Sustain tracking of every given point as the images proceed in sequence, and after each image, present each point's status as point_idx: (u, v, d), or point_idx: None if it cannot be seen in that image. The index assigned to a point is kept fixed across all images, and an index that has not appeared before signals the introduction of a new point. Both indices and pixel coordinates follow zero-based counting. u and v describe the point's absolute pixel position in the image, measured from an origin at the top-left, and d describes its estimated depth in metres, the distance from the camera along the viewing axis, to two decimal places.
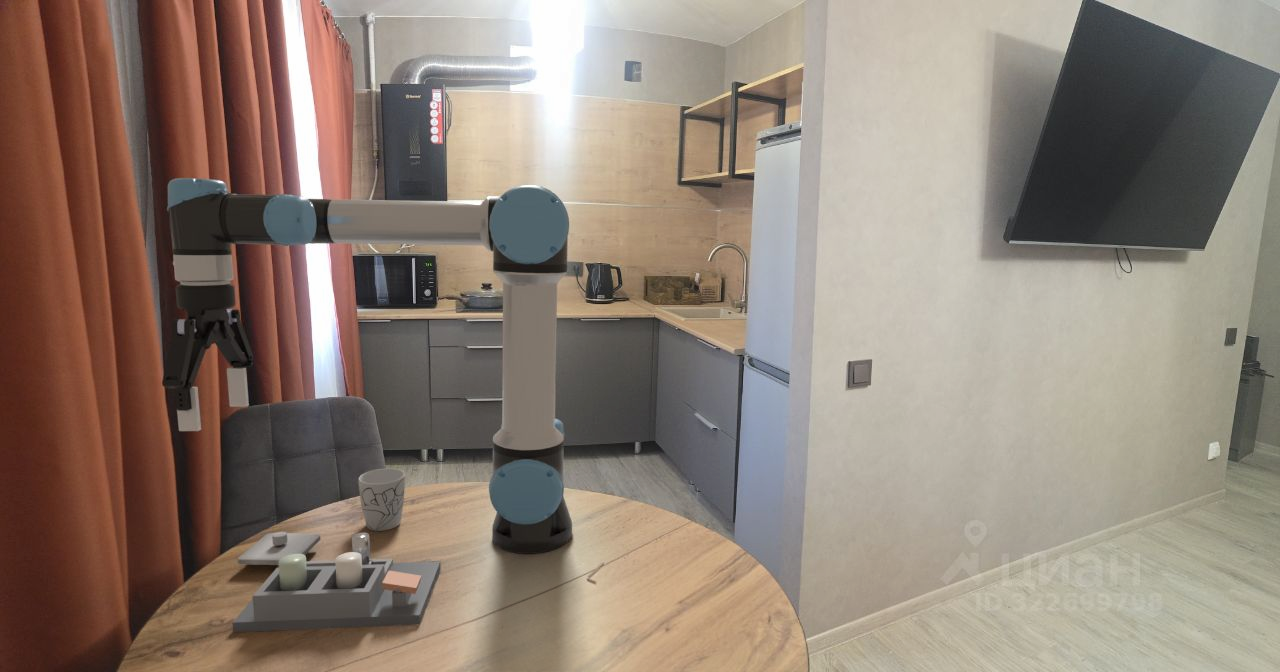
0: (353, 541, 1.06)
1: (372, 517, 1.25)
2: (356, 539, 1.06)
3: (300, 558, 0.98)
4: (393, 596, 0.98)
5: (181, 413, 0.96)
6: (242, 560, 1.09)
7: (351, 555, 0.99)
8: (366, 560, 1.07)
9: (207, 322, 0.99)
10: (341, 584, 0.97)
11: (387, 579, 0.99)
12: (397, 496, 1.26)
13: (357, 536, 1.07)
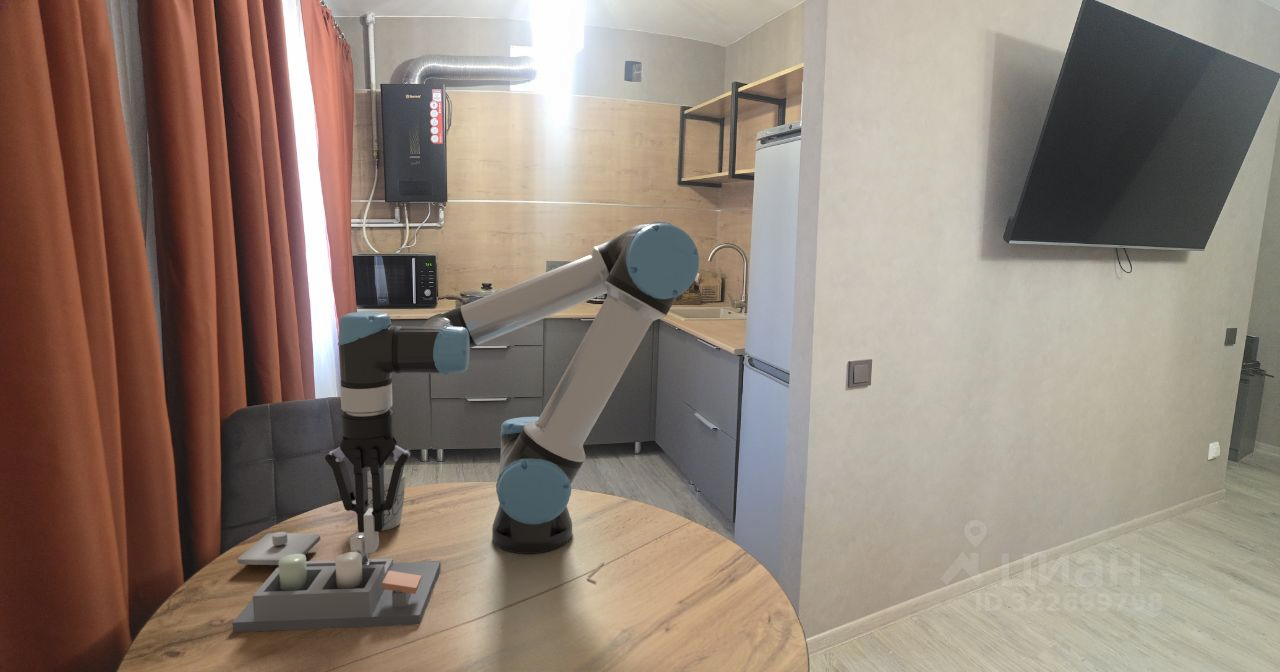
0: (351, 541, 1.06)
1: None
2: (354, 539, 1.06)
3: (300, 558, 0.98)
4: (393, 596, 0.98)
5: None
6: (242, 560, 1.09)
7: (351, 555, 0.99)
8: (364, 560, 1.07)
9: (350, 443, 1.03)
10: (341, 584, 0.97)
11: (387, 579, 0.99)
12: (397, 496, 1.26)
13: (355, 536, 1.07)
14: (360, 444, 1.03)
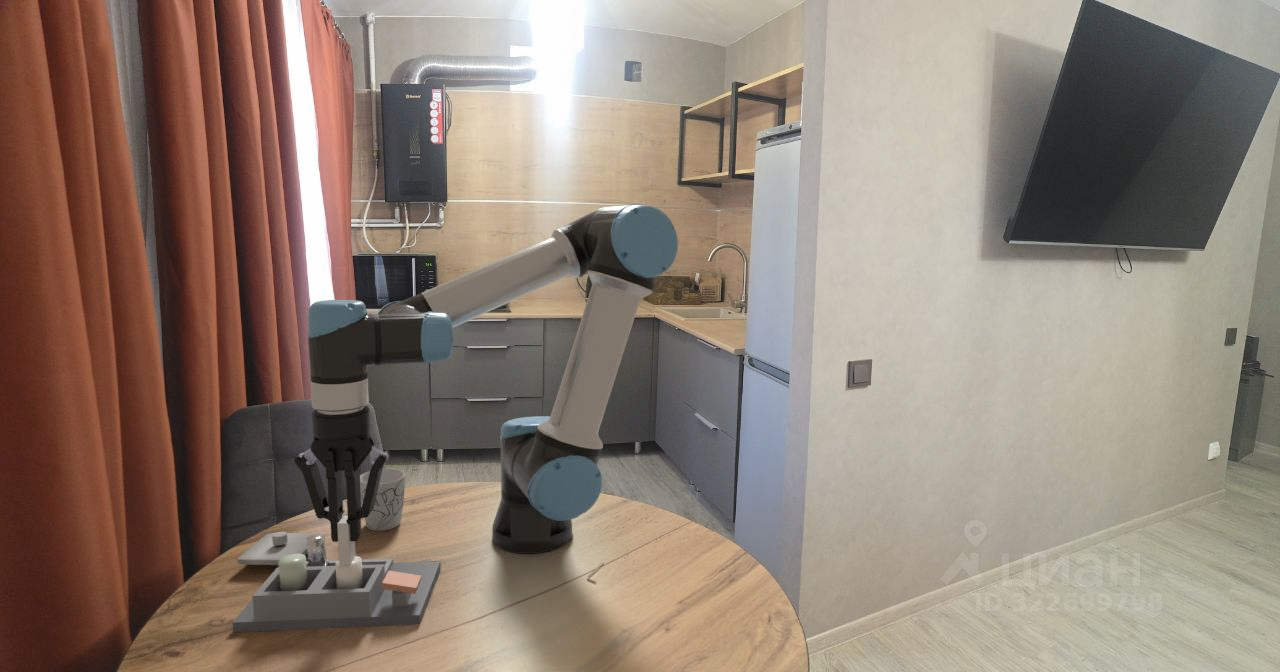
0: (308, 542, 1.05)
1: (372, 517, 1.25)
2: (311, 540, 1.05)
3: (300, 558, 0.98)
4: (393, 596, 0.98)
5: None
6: (242, 560, 1.09)
7: None
8: (321, 561, 1.06)
9: (322, 444, 0.94)
10: (341, 588, 0.97)
11: (387, 579, 0.99)
12: (397, 496, 1.26)
13: (312, 537, 1.06)
14: (333, 445, 0.94)
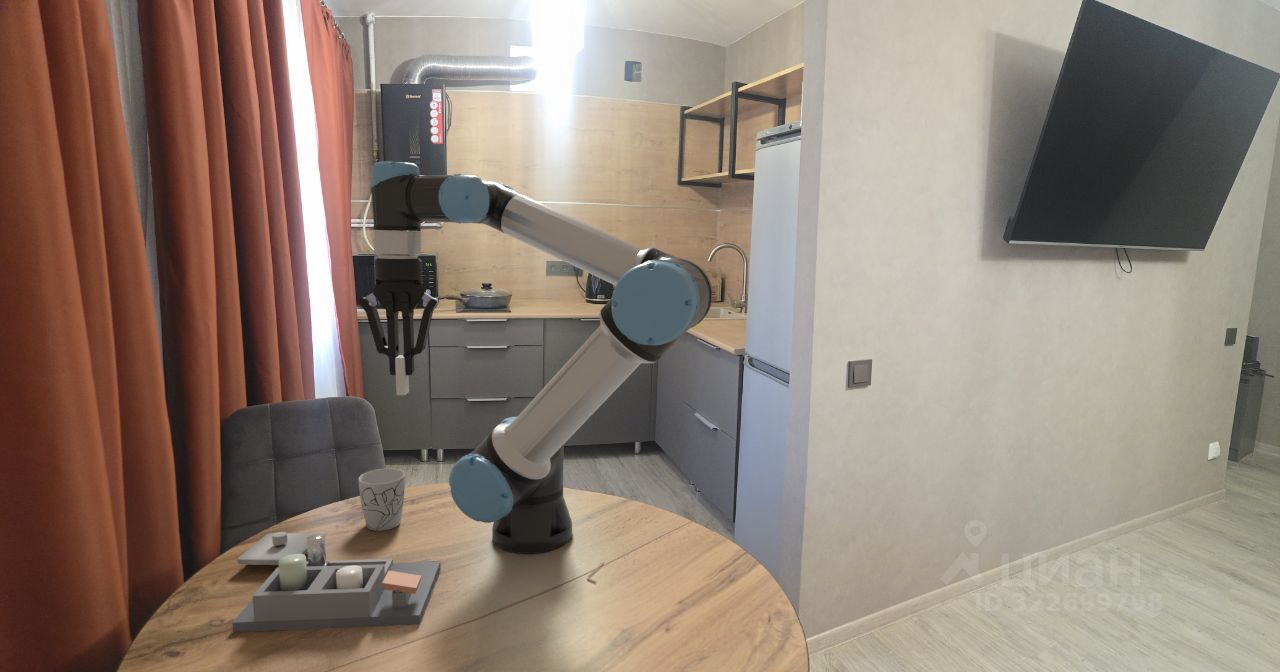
0: (308, 542, 1.05)
1: (372, 517, 1.25)
2: (311, 540, 1.05)
3: (300, 558, 0.98)
4: (393, 596, 0.98)
5: None
6: (242, 560, 1.09)
7: (352, 568, 0.99)
8: (321, 561, 1.06)
9: (383, 288, 1.10)
10: None
11: (387, 579, 0.99)
12: (397, 496, 1.26)
13: (312, 537, 1.06)
14: (392, 289, 1.10)
